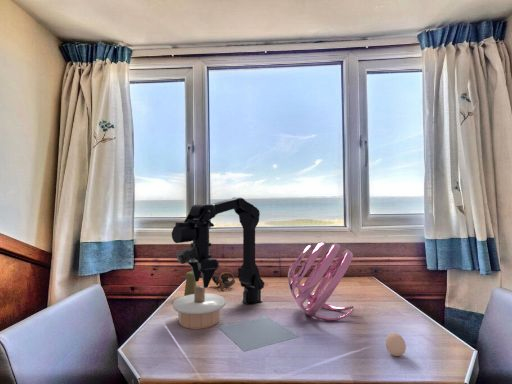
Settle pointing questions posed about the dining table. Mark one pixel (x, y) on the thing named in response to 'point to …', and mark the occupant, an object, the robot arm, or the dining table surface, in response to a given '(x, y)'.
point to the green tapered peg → (189, 283)
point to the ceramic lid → (199, 302)
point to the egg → (395, 344)
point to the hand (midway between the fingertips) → (201, 284)
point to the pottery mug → (223, 280)
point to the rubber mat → (257, 333)
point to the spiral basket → (306, 289)
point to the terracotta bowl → (199, 319)
